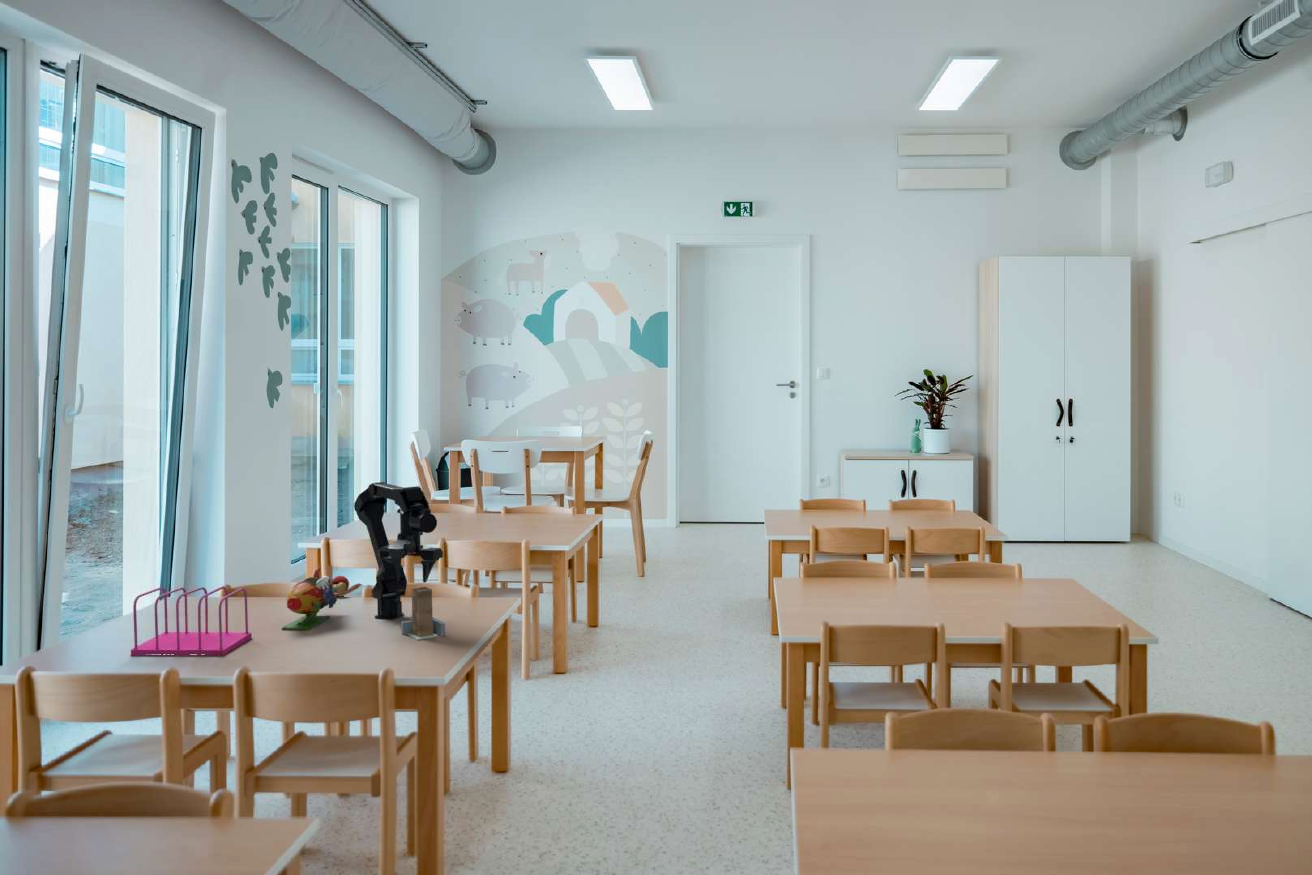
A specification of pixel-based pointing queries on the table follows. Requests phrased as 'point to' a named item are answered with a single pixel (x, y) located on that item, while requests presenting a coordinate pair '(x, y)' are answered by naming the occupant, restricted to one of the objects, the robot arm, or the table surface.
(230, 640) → the file sorter
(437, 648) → the table surface
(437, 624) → the grey corner fixture
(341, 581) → the kendama
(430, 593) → the walnut block
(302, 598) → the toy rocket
